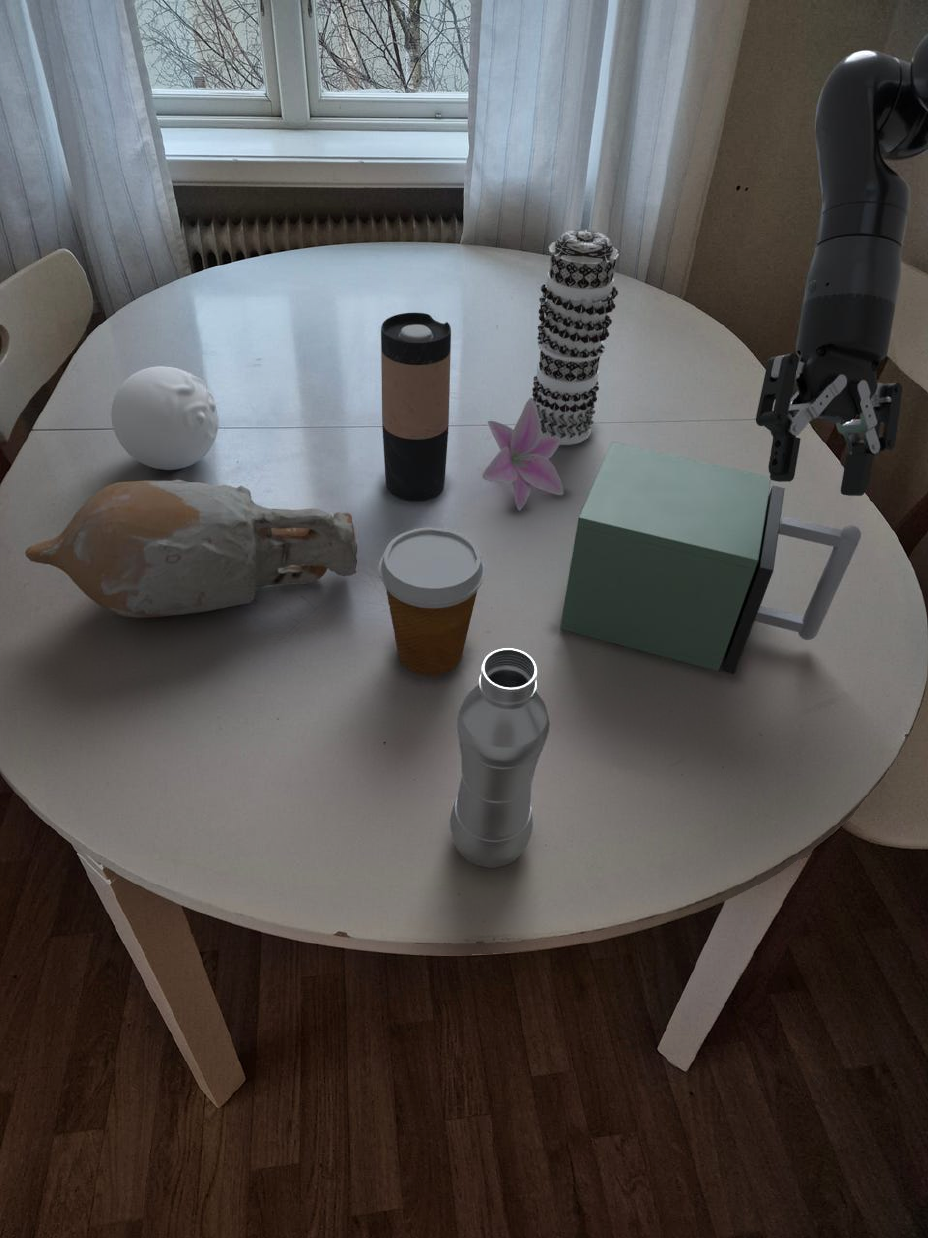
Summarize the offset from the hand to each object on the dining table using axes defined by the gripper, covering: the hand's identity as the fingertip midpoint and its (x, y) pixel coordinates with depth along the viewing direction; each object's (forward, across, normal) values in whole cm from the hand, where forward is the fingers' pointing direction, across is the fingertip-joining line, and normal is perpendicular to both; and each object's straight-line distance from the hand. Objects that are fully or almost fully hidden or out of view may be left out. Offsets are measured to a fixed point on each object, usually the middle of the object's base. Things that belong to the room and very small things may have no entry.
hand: (817, 488), depth 77 cm
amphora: (+18, -47, +32) cm, 60 cm away
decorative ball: (+4, -50, +54) cm, 74 cm away
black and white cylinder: (-8, -2, +45) cm, 46 cm away
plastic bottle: (+32, -28, +1) cm, 43 cm away
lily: (+2, -11, +36) cm, 38 cm away
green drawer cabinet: (+13, -4, +16) cm, 21 cm away
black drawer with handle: (+14, 0, +13) cm, 19 cm away
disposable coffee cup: (+20, -27, +18) cm, 39 cm away
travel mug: (+3, -23, +41) cm, 47 cm away
